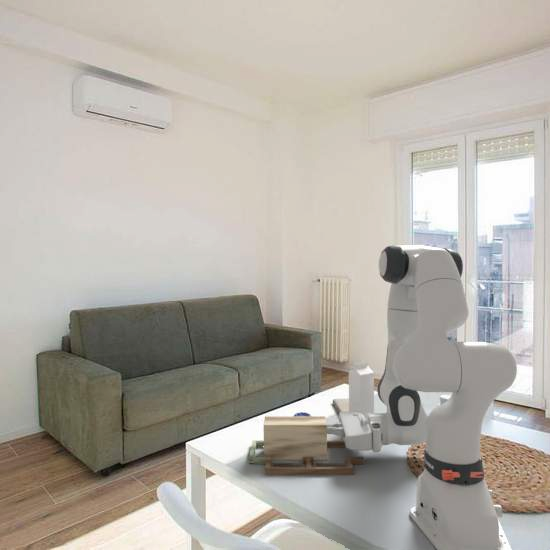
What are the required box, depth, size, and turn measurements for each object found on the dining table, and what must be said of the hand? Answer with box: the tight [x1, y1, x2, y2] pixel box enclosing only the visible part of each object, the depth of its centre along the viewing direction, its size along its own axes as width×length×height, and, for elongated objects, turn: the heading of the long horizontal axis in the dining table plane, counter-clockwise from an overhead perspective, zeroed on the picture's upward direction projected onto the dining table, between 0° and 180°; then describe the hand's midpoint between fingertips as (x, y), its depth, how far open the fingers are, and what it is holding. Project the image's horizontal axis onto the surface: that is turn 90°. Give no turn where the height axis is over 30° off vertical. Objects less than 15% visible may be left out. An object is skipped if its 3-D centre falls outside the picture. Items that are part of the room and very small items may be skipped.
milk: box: [348, 361, 375, 417], centre depth 153 cm, size 6×6×22 cm
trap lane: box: [248, 440, 365, 476], centre depth 130 cm, size 18×32×2 cm, turn 88°
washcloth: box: [332, 398, 349, 414], centre depth 170 cm, size 12×18×3 cm, turn 5°
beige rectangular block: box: [263, 415, 328, 461], centre depth 133 cm, size 7×18×10 cm, turn 88°
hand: (326, 429), depth 133 cm, fingers closed, pressing on beige rectangular block
